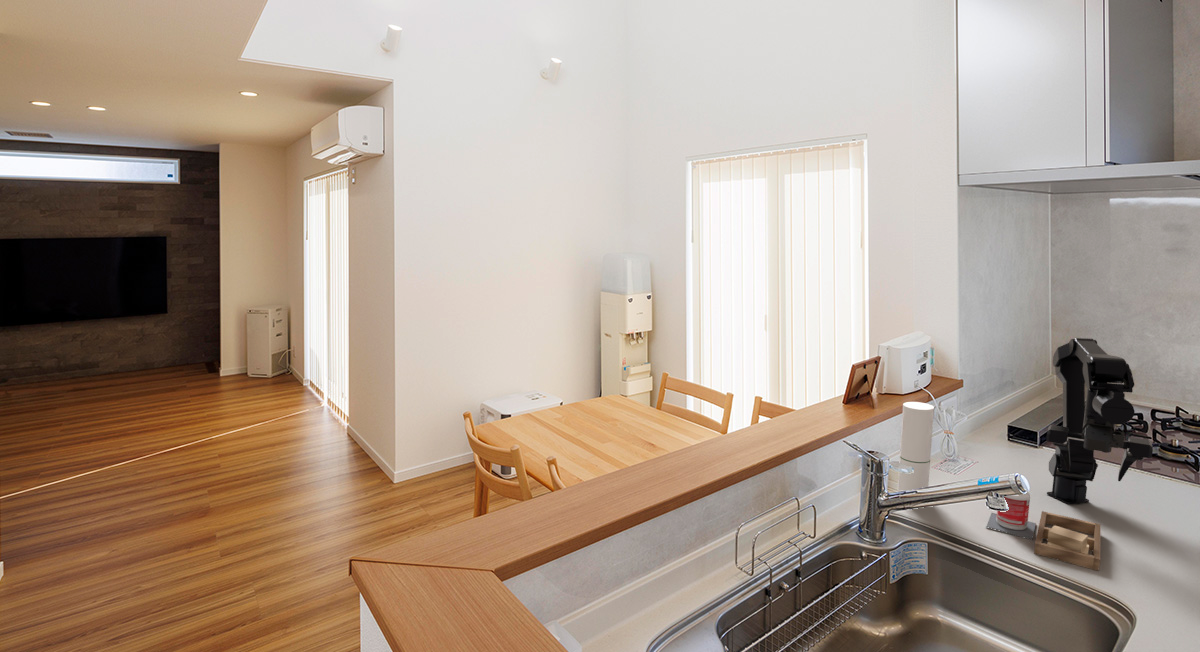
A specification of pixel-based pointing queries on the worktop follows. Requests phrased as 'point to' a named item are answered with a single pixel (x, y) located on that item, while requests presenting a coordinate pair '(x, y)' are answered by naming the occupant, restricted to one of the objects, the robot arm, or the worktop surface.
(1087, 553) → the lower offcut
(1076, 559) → the rack
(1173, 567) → the worktop surface
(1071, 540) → the upper offcut
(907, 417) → the cylindrical container
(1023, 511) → the pill bottle
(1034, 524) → the mat
